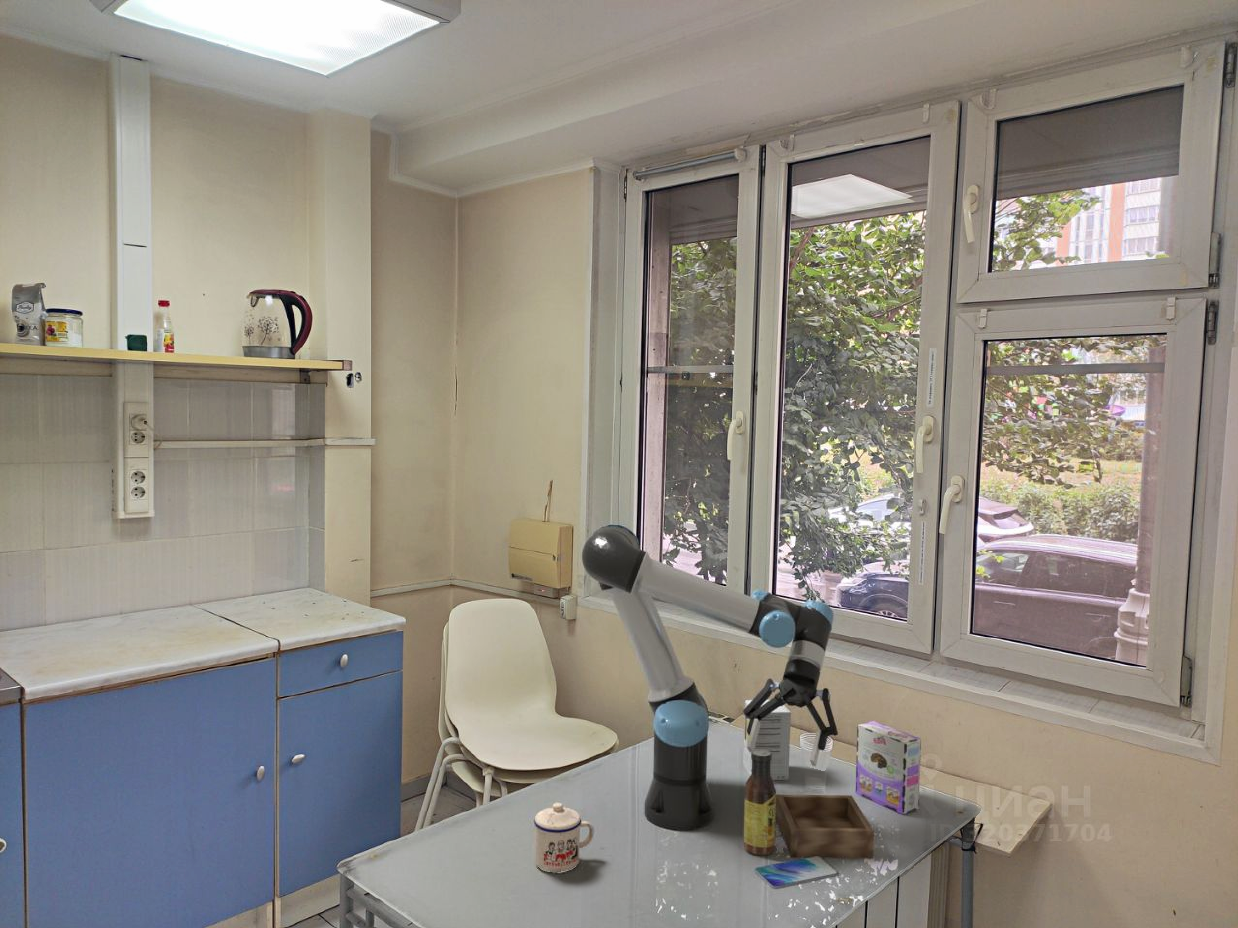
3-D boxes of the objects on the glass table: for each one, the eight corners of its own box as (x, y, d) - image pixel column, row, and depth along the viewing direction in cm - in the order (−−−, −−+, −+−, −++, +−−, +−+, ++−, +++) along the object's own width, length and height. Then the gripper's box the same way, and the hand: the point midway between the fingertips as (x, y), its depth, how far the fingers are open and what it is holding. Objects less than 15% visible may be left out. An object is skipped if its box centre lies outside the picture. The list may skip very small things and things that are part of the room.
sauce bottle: (774, 858, 176) (777, 760, 175) (742, 854, 177) (744, 757, 176) (775, 842, 182) (777, 748, 181) (744, 839, 183) (746, 745, 182)
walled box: (790, 857, 177) (791, 830, 176) (775, 819, 193) (776, 794, 193) (873, 858, 177) (874, 831, 176) (850, 819, 193) (851, 795, 193)
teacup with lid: (541, 878, 167) (542, 818, 166) (528, 855, 175) (528, 797, 174) (601, 867, 171) (602, 808, 170) (585, 845, 180) (586, 789, 179)
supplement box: (742, 765, 222) (744, 699, 221) (778, 764, 223) (780, 698, 222) (752, 781, 212) (754, 712, 211) (789, 780, 213) (791, 711, 212)
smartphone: (840, 873, 170) (773, 887, 165) (840, 877, 170) (773, 891, 165) (818, 854, 177) (753, 867, 171) (818, 858, 177) (753, 871, 171)
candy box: (919, 809, 199) (922, 737, 198) (902, 815, 196) (905, 742, 195) (870, 787, 210) (873, 719, 209) (853, 792, 207) (856, 723, 206)
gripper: (863, 683, 193) (843, 776, 182) (754, 666, 205) (728, 751, 193) (858, 666, 188) (837, 760, 176) (746, 649, 200) (720, 736, 188)
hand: (780, 756), depth 185 cm, fingers open, 13 cm apart
